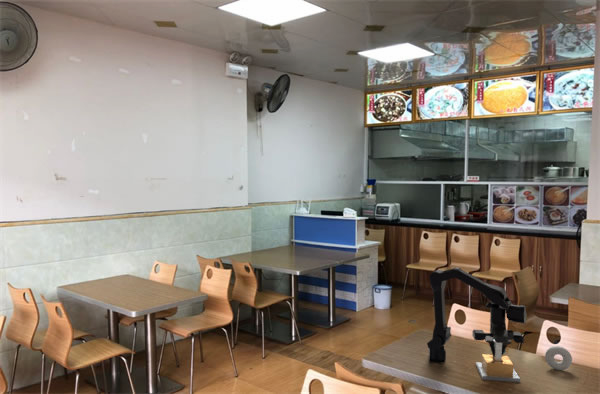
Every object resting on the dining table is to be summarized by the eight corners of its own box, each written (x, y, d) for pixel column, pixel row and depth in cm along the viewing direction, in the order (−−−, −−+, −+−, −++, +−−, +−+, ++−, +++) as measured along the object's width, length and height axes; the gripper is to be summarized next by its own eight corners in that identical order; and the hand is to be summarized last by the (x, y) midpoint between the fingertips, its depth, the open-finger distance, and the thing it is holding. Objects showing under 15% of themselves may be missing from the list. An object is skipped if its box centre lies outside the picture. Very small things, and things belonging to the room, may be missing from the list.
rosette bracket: (482, 379, 183) (482, 364, 183) (475, 364, 198) (475, 350, 198) (520, 382, 180) (520, 367, 180) (510, 367, 195) (510, 353, 195)
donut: (571, 370, 192) (571, 346, 192) (572, 373, 189) (573, 349, 188) (544, 366, 196) (544, 343, 196) (545, 369, 193) (545, 345, 192)
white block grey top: (495, 364, 187) (495, 342, 186) (493, 360, 191) (493, 339, 190) (501, 365, 186) (501, 343, 186) (499, 361, 190) (499, 339, 190)
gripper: (477, 323, 182) (476, 362, 182) (528, 326, 178) (527, 366, 179) (472, 315, 193) (471, 352, 193) (520, 318, 189) (519, 355, 190)
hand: (497, 356), depth 188 cm, fingers closed on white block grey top, 2 cm apart
